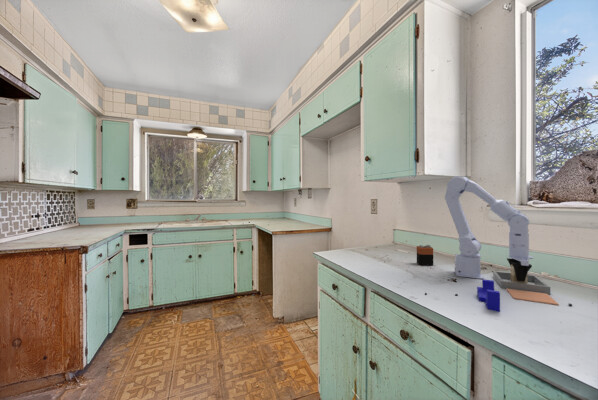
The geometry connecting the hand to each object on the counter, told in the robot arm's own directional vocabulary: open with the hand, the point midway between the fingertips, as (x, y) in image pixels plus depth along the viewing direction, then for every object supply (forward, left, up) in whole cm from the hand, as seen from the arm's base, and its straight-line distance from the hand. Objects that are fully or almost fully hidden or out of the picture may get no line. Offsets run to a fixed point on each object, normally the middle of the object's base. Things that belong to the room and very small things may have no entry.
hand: (518, 279), depth 94 cm
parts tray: (0, 0, -2) cm, 2 cm away
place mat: (0, -13, -2) cm, 13 cm away
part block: (0, 0, -2) cm, 2 cm away
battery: (-33, +15, -2) cm, 36 cm away
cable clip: (-14, -24, -3) cm, 28 cm away
